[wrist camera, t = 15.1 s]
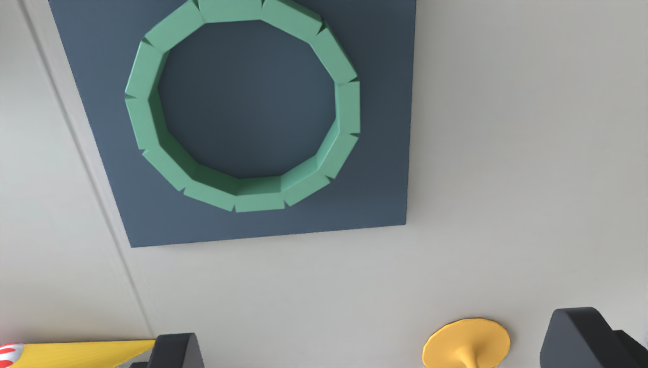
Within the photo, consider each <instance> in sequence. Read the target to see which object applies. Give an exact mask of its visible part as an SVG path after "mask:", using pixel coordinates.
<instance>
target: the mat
mask: <svg viewBox="0 0 648 368" xmlns="http://www.w3.org/2000/svg"><path fill="white" fill-rule="evenodd" d="M187 1H188V0H48V2H49V5H50V8H51V11H52V14H53V17H54V20H55V23H56V25H57V28H58V31H59V34H60V37H61V40H62V43H63V46H64V49H65V52H66V55H67V58H68V61H69V64H70V67H71V70H72V73H73V76H74V79H75V82H76V85H77V88H78V91H79V94H80V97H81V100H82V103H83V106H84V109H85V112H86V115H87V118H88V121H89V124H90V127H91V129H92V132H93V135H94V138H95V141H96V144H97V147H98V150H99V153H100V156H101V159H102V162H103V165H104V168H105V171H106V174H107V177H108V180H109V183H110V186H111V189H112V192H113V195H114V198H115V201H116V204H117V207H118V210H119V213H120V216H121V219H122V222H123V225H124V228H125V230H126V233H127V236H128V239H129V242H130V245H131V248H135V247H147V246H159V245H170V244H182V243H194V242H206V241H218V240H230V239H242V238H254V237H265V236H277V235H289V234H301V233H313V232H325V231H337V230H348V229H360V228H372V227H384V226H396V225H406V210H407V188H408V167H409V145H410V123H411V101H412V79H413V58H414V36H415V14H416V0H292V1H294V2H296V3H298V4H300V5H302V6H304V7H306V8H308V9H310V10H311V11H313V12H315V13H317V14H319V15H320V17H321V20H322V21H323V20H326V22H327V23H328V25H329V27H330V28H331V30H332V31H333V33H334V35H335V36H336V38H337V39H338V41H339V43H340V44H341V46H342V47H343V49H344V51H345V52H346V54H347V55H348V57H349V59H350V60H351V62H352V63H353V65H354V68H355V70H356V72H357V75H358V76H357V77H358V79H359V81H360V133H357V134H358V137H359V138H358V140H357V142H356V143H355V145H354V147H353V149H352V150H351V152H350V154H349V155H348V157H347V159H346V160H345V162H344V164H343V166H342V167H341V169H340V171H339V172H338V174H337V176H336V177H335V179H333V178H331V177H330V181H331V183H329V184H328V185H326V186H324V187H323V188H321V189H319V190H317V191H316V192H314V193H312V194H311V195H309V196H307V197H306V198H304V199H302V200H301V201H299V202H297V203H296V204H294V205H292V206H289V205H288V204H287V203H286V201H285V209H273V210H260V211H248V212H236V209H235V205H234V207H233V209H232V211H228V210H225V209H222V208H219V207H217V206H214V205H211V204H208V203H206V202H203V201H200V200H197V199H195V198H192V197H189V196H186V195H184V191H185V188H186V187H185V188H183V189H182V190H180V191H178V190H177V189H176V188H175V187H174V186H173V185H172V184H171V183H170V182H169V181H168V180H167V179H166V178H165V177H164V176H163V175H162V174H161V173H160V172H159V171H158V170H157V169H156V168H155V167H154V166H153V165H152V164H151V163H150V162H149V161H148V160H147V159H146V158H145V157H144V156H143V155H142V154H143V152H144V151H145V149H139V147H138V143H137V140H136V136H135V133H134V129H133V126H132V122H131V119H130V115H129V112H128V108H127V105H126V101H125V98H126V97H127V96H128V95H129V94H126V93H125V90H126V87H127V84H128V80H129V77H130V74H131V71H132V68H133V64H134V61H135V58H136V55H137V52H138V48H139V45H140V42H141V40H143V39H144V38H145V34H146V33H148V32H149V31H150V30H151V29H152V28H153V27H154V26H155V25H157V24H158V23H159V22H161V21H162V20H163V19H165V18H166V17H167V16H168V15H170V14H171V13H172V12H174V11H175V10H176V9H178V8H179V7H180V6H182V5H183V4H184V3H185V2H187ZM157 89H158V93H159V97H160V101H161V105H162V109H163V113H164V117H165V121H166V125H167V129H168V131H169V132H170V134H171V135H172V136H173V137H174V138H175V139H176V140H177V141H178V142H179V143H180V144H181V145H182V147H183V148H184V149H185V150H186V151H187V152H188V153H189V154H190V155H191V156H192V157H193V158H194V160H195V161H196V162H197V163H198V164H201V165H204V166H206V167H209V168H211V169H214V170H217V171H219V172H222V173H224V174H227V175H230V176H232V177H235V178H237V179H245V178H258V177H271V176H282V175H283V174H285V173H286V172H288V171H290V170H291V169H293V168H295V167H296V166H298V165H299V164H301V163H303V162H304V161H306V160H308V159H309V158H311V157H312V156H314V155H316V153H317V152H318V150H319V148H320V146H321V144H322V143H323V141H324V139H325V137H326V135H327V133H328V132H329V130H330V128H331V126H332V124H333V123H334V121H335V119H336V108H335V84H334V80H333V78H332V77H331V75H330V74H329V72H328V71H327V69H326V68H325V66H324V65H323V63H322V62H321V60H320V59H319V57H318V56H317V54H316V53H315V51H314V50H313V48H312V47H311V45H310V44H309V43H307V42H305V41H303V40H301V39H299V38H297V37H295V36H293V35H291V34H289V33H287V32H285V31H283V30H281V29H279V28H277V27H275V26H273V25H271V24H269V23H267V22H265V21H263V20H261V19H259V20H244V21H229V22H215V23H205V24H204V25H202V26H201V27H200V28H198V29H197V30H196V31H194V32H193V33H192V34H190V35H189V36H187V37H186V38H185V39H183V40H182V41H181V42H179V43H178V44H177V45H175V46H174V47H173V48H171V49H170V52H169V55H168V58H167V60H166V63H165V66H164V69H163V72H162V75H161V78H160V81H159V84H158V87H157Z"/></svg>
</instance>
